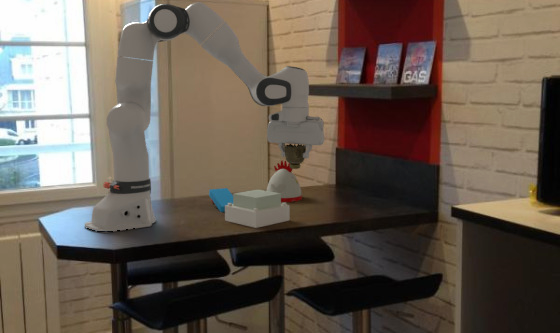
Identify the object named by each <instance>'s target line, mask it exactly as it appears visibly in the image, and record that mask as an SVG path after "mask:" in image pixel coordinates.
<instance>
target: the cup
mask: <svg viewBox="0 0 560 333" xmlns="http://www.w3.org/2000/svg"><path fill="white" fill-rule="evenodd" d="M284 149H285V157H284V158H285V161H286V163H287V164H288V163H290V168H292V170H298V169H300V168H301V164H302V163H303V162H304V161H305V158H303V153H305V152H306V150H307V148H306V145H304V144H285V145H284Z"/></svg>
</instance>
